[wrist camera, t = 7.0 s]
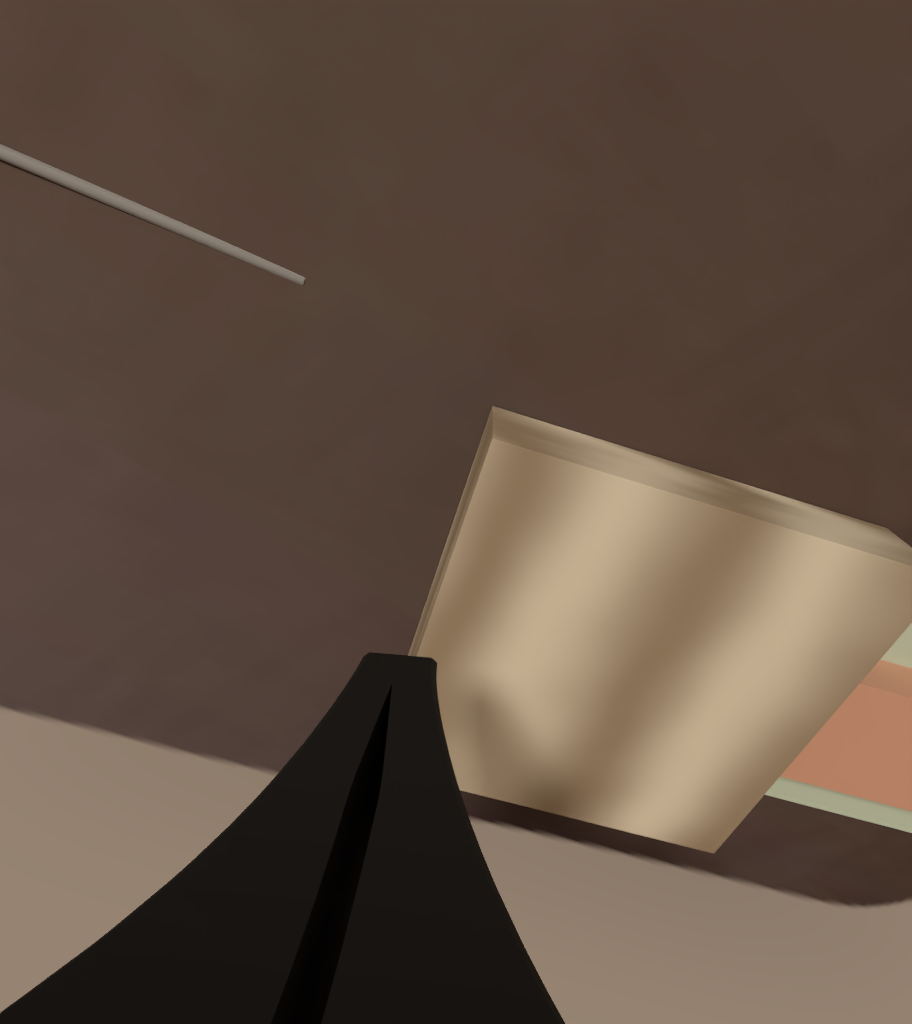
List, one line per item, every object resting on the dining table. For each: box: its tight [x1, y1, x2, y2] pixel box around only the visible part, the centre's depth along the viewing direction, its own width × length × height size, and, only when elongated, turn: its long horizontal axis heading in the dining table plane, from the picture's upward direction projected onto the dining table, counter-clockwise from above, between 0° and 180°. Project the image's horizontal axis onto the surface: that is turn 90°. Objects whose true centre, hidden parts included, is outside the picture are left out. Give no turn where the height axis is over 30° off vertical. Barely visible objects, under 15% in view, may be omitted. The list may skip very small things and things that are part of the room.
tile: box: [780, 659, 912, 811], centre depth 22 cm, size 8×5×2 cm, turn 73°
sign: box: [0, 144, 305, 285], centre depth 16 cm, size 5×1×15 cm
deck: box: [408, 406, 912, 853], centre depth 20 cm, size 14×14×3 cm
